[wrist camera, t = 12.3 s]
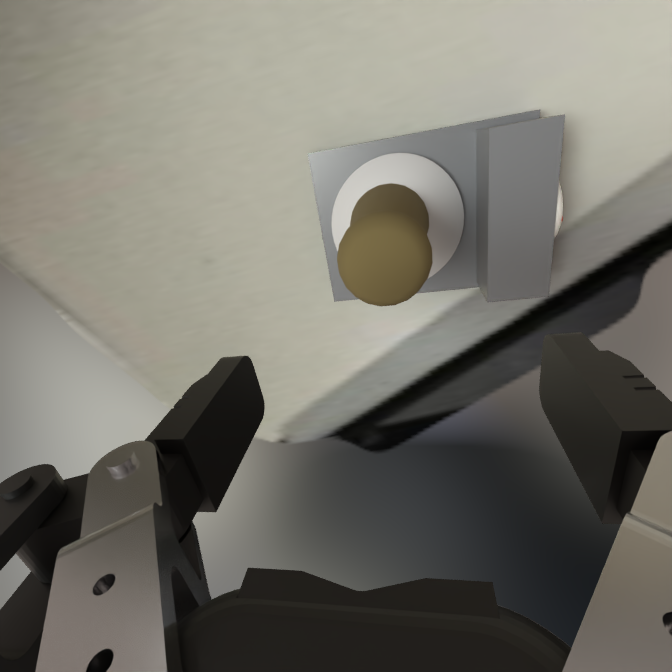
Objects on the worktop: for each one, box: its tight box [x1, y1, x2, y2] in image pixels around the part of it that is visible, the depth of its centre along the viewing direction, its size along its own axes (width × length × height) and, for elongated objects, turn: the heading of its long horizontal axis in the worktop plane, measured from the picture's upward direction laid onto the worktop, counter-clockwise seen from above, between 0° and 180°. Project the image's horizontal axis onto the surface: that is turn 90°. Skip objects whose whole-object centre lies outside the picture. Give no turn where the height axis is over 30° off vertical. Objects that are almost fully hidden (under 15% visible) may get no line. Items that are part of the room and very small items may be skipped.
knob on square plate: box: [308, 110, 565, 302], centre depth 28 cm, size 16×12×7 cm
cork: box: [337, 183, 433, 306], centre depth 24 cm, size 6×6×11 cm
